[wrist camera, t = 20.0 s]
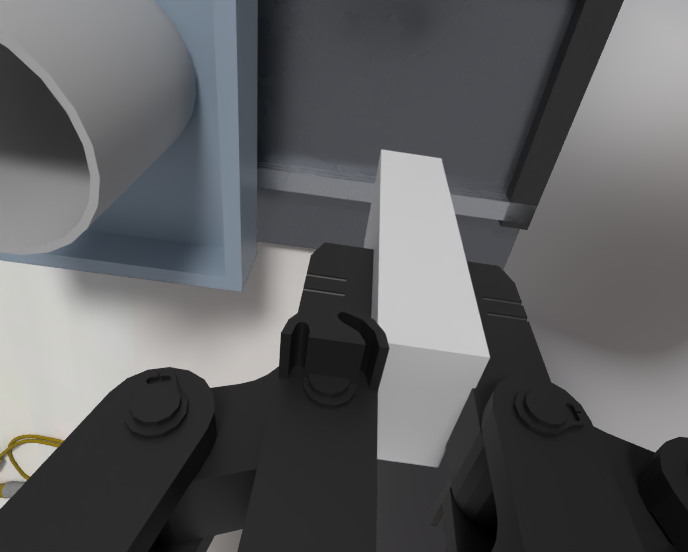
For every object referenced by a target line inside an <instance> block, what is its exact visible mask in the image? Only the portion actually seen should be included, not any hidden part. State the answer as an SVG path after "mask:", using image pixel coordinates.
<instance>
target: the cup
mask: <svg viewBox="0 0 688 552" xmlns="http://www.w3.org/2000/svg"><path fill="white" fill-rule="evenodd" d="M195 98H196V83H195V70H194V67H193V64H192V61H191V58H190V55H189V52H188V48H187V46H186V44H185V42H184V40H183V39H182V37H181V35H180V33H179V32H178V30H177V28H176V26H175V25H174V23H173V21H172V20H171V19H170V18H169V17H168V16H167V15H166V13H165V12H164V11H163V10H162V9H161V8H160V7H159V5H158V4H157V3H156V2H155V1H154V0H0V252H2V253H10V254H18V255H28V254H38V253H48V252H51V251H54V250H56V249H58V248H61V247H63V246H66V245H68V244H71V243H72V242H73V241H74V240H75V239H76V238H77V237H78V236H80V235H81V234H82V233H83V232H84V231H85V230H86V229H87V228H88V227H89V226H90V225H91V224H92V223H93V222H94V221H95V220H96V219H97V218H98V217H99V216H100V215H101V214H102V213H103V212H104V211H105V210H106V209H107V208H108V207H109V206H110V205H111V204H112V203H113V202H114V201H115V200H116V199H117V198H118V197H119V196H120V195H121V194H122V193H123V192H124V191H125V190H126V189H127V188H128V187H129V186H130V185H131V184H132V183H133V182H134V181H135V180H136V179H137V178H138V177H139V176H140V175H141V174H142V173H143V172H144V171H145V170H146V169H147V168H148V167H149V166H150V165H151V164H152V163H153V162H154V161H155V160H156V159H157V158H158V157H159V156H160V155H161V154H162V153H163V152H164V151H165V150H166V149H167V148H168V147H169V146H170V145H171V144H172V143H173V142H174V141H175V140H176V139H177V138H178V137H179V136H180V135H181V134H182V132H183V131H184V129H185V127H186V125H187V123H188V122H189V120H190V118H191V116H192V114H193V109H194V103H195Z"/></svg>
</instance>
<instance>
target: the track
mask: <svg viewBox="0 0 688 552" xmlns="http://www.w3.org/2000/svg"><path fill="white" fill-rule="evenodd" d="M623 1H624V0H258V47H257V241H261V242H269V243H276V244H284V245H291V246H299V247H306V248H314V249H318V248H319V247H320V246H321V245H322V244H323V243H324V242H326V243H333V244H340V245H347V246H354V247H361V248H364V240H365V235H366V229H367V224H368V218H369V213H370V208H371V202H372V197H373V191H374V186H375V180H376V175H377V169H378V164H379V158H380V153H381V149H382V150H389V151H395V152H402V153H409V154H416V155H422V156H429V157H435V158H441V159H442V163H443V167H444V171H445V175H446V180H447V184H448V188H449V192H450V196H451V200H452V204H453V208H454V212H455V216H456V220H457V224H458V229H459V233H460V237H461V241H462V245H463V249H464V253H465V257H466V261H469V262H476V263H482V264H489V265H496V266H499V267H500V268H501V269H502V270H503V269H504V267H505V264H506V262H507V259H508V257H509V255H510V252H511V250H512V247H513V245H514V242H515V240H516V237H517V235H518V233H519V230H520V229H524V230H527V229H528V227H529V225H530V222H531V220H532V217H533V215H534V213H535V210H536V208H537V205H538V203H539V201H540V198H541V196H542V194H543V191H544V189H545V187H546V184H547V182H548V179H549V177H550V175H551V172H552V170H553V168H554V165H555V163H556V160H557V158H558V155H559V153H560V151H561V149H562V146H563V144H564V141H565V139H566V137H567V134H568V132H569V129H570V127H571V125H572V122H573V120H574V118H575V115H576V113H577V110H578V108H579V106H580V103H581V101H582V99H583V96H584V94H585V91H586V89H587V87H588V84H589V82H590V79H591V77H592V74H593V72H594V70H595V68H596V65H597V63H598V60H599V58H600V56H601V53H602V51H603V49H604V46H605V44H606V41H607V39H608V37H609V34H610V32H611V30H612V27H613V25H614V22H615V20H616V18H617V15H618V13H619V11H620V8H621V6H622V3H623Z"/></svg>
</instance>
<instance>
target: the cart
mask: <svg viewBox="0 0 688 552" xmlns="http://www.w3.org/2000/svg"><path fill="white" fill-rule="evenodd" d="M154 1H155V2H156V3H157V4H158V5H159V7H160V8H161V9H162V10H163V11H164V12H165V13H166V15H167V16H168V17H169V18H170V19H171V20H172V21H173V23H174V25H175V26H176V28H177V30H178V32H179V33H180V35H181V37H182V39H183V40H184V42H185V44H186V46H187V48H188V52H189V55H190V58H191V61H192V64H193V67H194V70H195V83H196V98H195V103H194V109H193V114H192V116H191V118H190V120H189V122H188V123H187V125H186V127H185V129H184V131H183V132H182V134H181V135H180V136H179V137H178V138H177V139H176V140H175V141H174V142H173V143H172V144H171V145H170V146H169V147H168V148H167V149H166V150H165V151H164V152H163V153H162V154H161V155H160V156H159V157H158V158H157V159H156V160H155V161H154V162H153V163H152V164H151V165H150V166H149V167H148V168H147V169H146V170H145V171H144V172H143V173H142V174H141V175H140V176H139V177H138V178H137V179H136V180H135V181H134V182H133V183H132V184H131V185H130V186H129V187H128V188H127V189H126V190H125V191H124V192H123V193H122V194H121V195H120V196H119V197H118V198H117V199H116V200H115V201H114V202H113V203H112V204H111V205H110V206H109V207H108V208H107V209H106V210H105V211H104V212H103V213H102V214H101V215H100V216H99V217H98V218H97V219H96V220H95V221H94V222H93V223H92V224H91V225H90V226H89V227H88V228H87V229H86V230H85V231H84V232H83V233H82V234H81V235H80V236H78V237H77V238H76V239H75V240H74V241H73V242H72V243H71V244H68V245H66V246H63V247H61V248H58V249H56V250H54V251H51V252H48V253H38V254H28V255H18V254H10V253H2V252H0V260H2V261H10V262H17V263H25V264H32V265H40V266H48V267H55V268H63V269H71V270H78V271H86V272H94V273H101V274H109V275H117V276H124V277H132V278H140V279H147V280H155V281H162V282H170V283H178V284H185V285H193V286H201V287H208V288H216V289H224V290H231V291H239V292H242V290H243V288H244V285H245V283H246V280H247V278H248V275H249V272H250V270H251V267H252V265H253V262H254V259H255V257H256V254H257V47H258V0H154Z"/></svg>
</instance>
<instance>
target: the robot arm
mask: <svg viewBox="0 0 688 552" xmlns="http://www.w3.org/2000/svg"><path fill="white" fill-rule="evenodd" d="M446 450H447V457H448V465H449V474H450V477H449V479H448V481H447V483H446V485H445V487H444V489H443V490H442V492H441V494H440V496H439V498H438V500H437V502H436V504H435V506H434V508H433V510H432V514H431V522H430V525H432V526H437V525H438V523H439V521H440V519H441V518H442V516H443V519H444V530H445V541H446V551H447V552H688V438H685V437H678V438H675V439H672V440H669V441H667V442H665V443H664V444H663V445H662V446H661V447H660V448H659V449H658V450H657V451H656V452H655V453H654V452H652V451H650V450H647V449H645V448H642V447H640V446H637V445H635V444H632V443H630V442H627V441H625V440H622V439H620V438H618V437H615V436H613V435H610V434H608V433H606V432H603V431H602V430H599V429H598V428H596V427H594V426H593V425H592V423H591V420H590V419H589V417H588V416H587V414H586V412H585V411H584V409H583V408H582V406H581V404H579V403H578V402H577V401H576V400H575V399H574V398H573V397H572V396H571V395H570V394H569V393H568V392H567V391H565V390H564V389H562V388H560V387H558V386H557V385H555V384H553V383H551V381H550V378H549V375H548V373H547V370H546V367H545V364H544V362H543V359H542V356H541V353H540V351H539V348H538V345H537V343H536V340H535V337H534V334H533V332H532V329H531V326H530V323H529V322H527V315H526V312H525V310H524V307H523V306H521V299H520V296H519V293H518V291H517V288H516V285H515V283H514V282H513V281H512V280H511V279H510V278H509V276H508V275H507V274H506V273H505V272H504V271H503V270H502V269H501V268H500V267H499V266H496V265H489V264H482V263H476V262H469V261H466V257H465V253H464V249H463V245H462V241H461V237H460V233H459V229H458V224H457V220H456V216H455V212H454V208H453V204H452V200H451V196H450V192H449V188H448V184H447V180H446V175H445V171H444V167H443V163H442V159H441V158H435V157H429V156H422V155H416V154H409V153H402V152H395V151H389V150H382V149H381V153H380V158H379V164H378V169H377V175H376V180H375V186H374V191H373V197H372V202H371V208H370V213H369V218H368V224H367V229H366V235H365V240H364V248H361V247H354V246H347V245H340V244H333V243H326V242H324V243H323V244H322V245H321V246H320V247H319V248H318V249H317V250H316V251H315V252H314V253H313V254H312V255H311V258H310V262H309V266H308V271H307V276H306V279H305V284H304V289H303V293H302V297H301V301H300V306H299V310H298V313H297V314H296V315H294V316H293V317H291V318H290V319H289V320H288V322H287V323H286V325H285V327H284V329H283V331H282V332H281V343H280V360H279V367H277V368H276V369H275V370H273V371H272V372H271V373H269V374H268V375H266V376H264V377H261V378H259V379H257V380H255V381H250V382H246V383H242V384H236V385H229V386H222V387H214V388H210V387H209V386H208V384H207V383H206V381H205V380H204V379H202V378H201V377H199V376H197V375H196V374H194V373H192V372H191V371H189V370H183V369H177V368H171V367H167V368H159V369H151V370H147V371H144V372H142V373H139V374H137V375H134V376H132V377H130V378H127V379H126V380H125V381H123V382H122V383H121V384H120V385H118V386H117V387H116V388H114V389H113V390H112V391H111V392H109V393H108V395H107V396H106V397H105V398H104V399H103V400H102V401H101V402H100V403H99V404H98V405H97V406H96V407H95V408H94V410H93V411H92V412H91V413H90V414H89V415H88V416H87V417H86V418H85V419H84V420H83V421H82V422H81V423H80V425H79V426H78V427H77V428H76V429H75V430H74V431H73V432H72V433H71V434H70V435H69V436H68V437H67V438H66V439H65V441H64V442H63V443H62V444H61V445H60V446H59V447H58V448H57V449H56V450H55V451H54V452H53V453H52V454H51V456H50V457H49V458H48V459H47V460H46V461H45V462H44V463H43V464H42V465H41V466H40V467H39V468H38V469H37V471H36V472H35V473H34V474H33V475H32V476H31V477H30V478H29V479H28V480H27V481H26V482H25V483H24V484H23V485H22V487H21V488H20V489H19V490H18V491H17V492H16V493H15V494H14V495H13V496H12V497H11V498H10V499H9V500H8V502H7V503H6V504H5V505H4V506H3V507H2V508H1V509H0V552H206V551H207V549H208V547H209V545H210V543H211V542H212V540H213V538H214V536H215V535H218V534H222V533H227V532H231V531H236V530H240V529H243V531H242V535H241V540H240V544H239V548H238V552H376V507H377V500H376V499H377V459H381V460H388V461H395V462H403V463H410V464H417V465H425V466H432V467H438V466H439V464H440V462H441V460H442V458H443V456H444V454H445V452H446Z"/></svg>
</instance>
